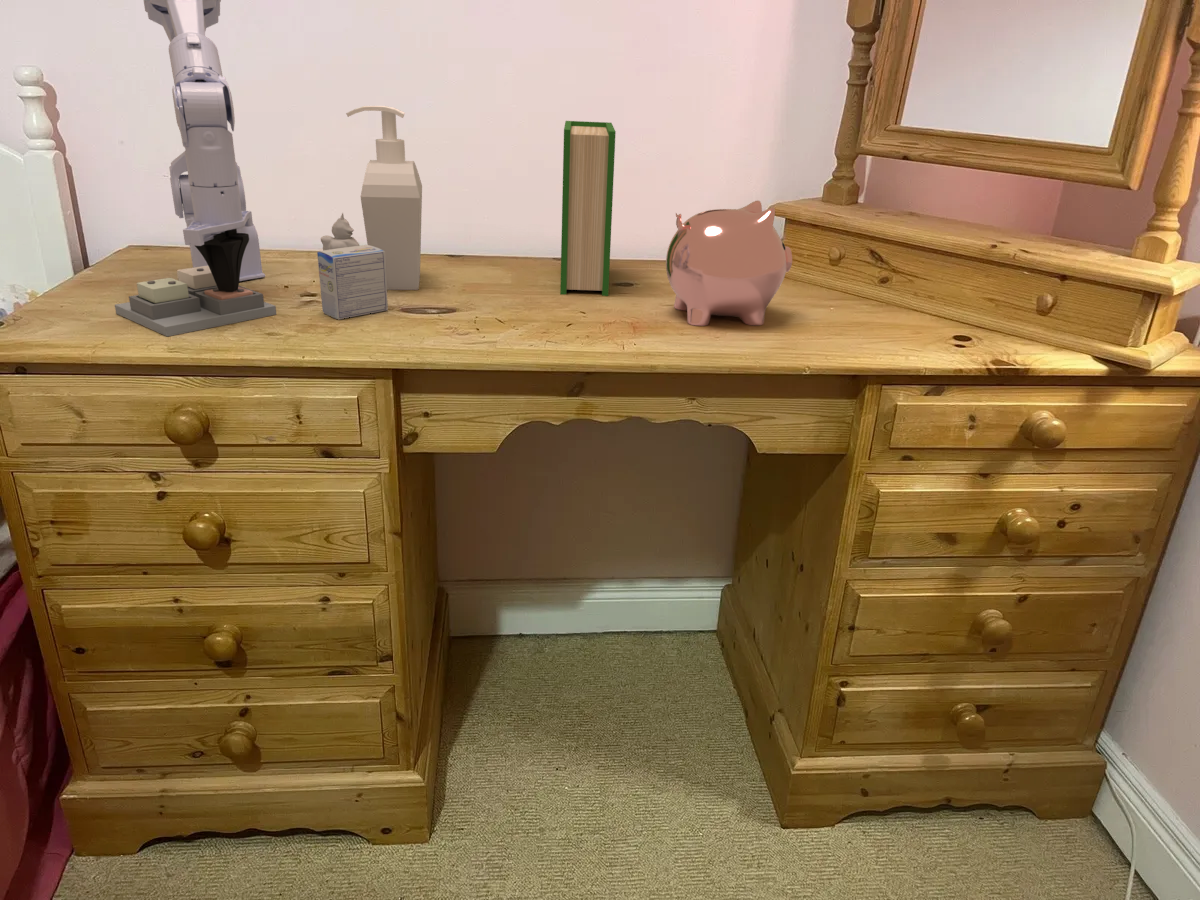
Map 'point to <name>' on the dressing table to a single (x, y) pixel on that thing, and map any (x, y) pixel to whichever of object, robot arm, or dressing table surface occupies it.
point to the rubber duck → (339, 236)
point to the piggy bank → (727, 264)
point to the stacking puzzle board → (194, 311)
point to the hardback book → (587, 205)
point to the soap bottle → (393, 204)
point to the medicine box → (352, 281)
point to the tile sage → (162, 290)
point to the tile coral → (228, 293)
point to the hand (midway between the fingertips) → (228, 290)
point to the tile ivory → (196, 277)
